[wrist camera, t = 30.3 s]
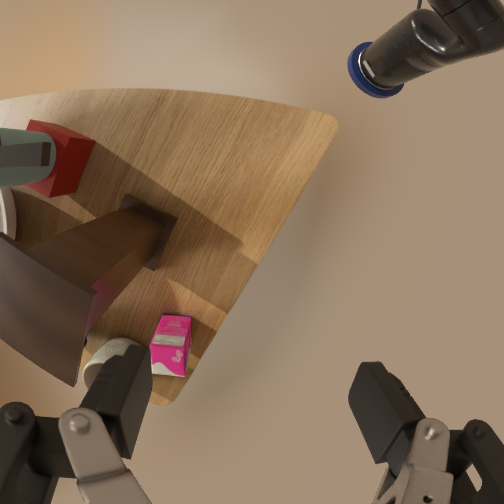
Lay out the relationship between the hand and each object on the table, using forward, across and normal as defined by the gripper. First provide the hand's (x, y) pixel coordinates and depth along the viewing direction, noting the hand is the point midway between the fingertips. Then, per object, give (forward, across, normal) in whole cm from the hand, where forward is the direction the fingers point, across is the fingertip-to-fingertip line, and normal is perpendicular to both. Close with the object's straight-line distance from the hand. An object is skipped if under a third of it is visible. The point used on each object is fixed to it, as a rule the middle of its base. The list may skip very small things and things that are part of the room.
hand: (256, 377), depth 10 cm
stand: (+40, +17, +5) cm, 44 cm away
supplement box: (+40, +9, +22) cm, 47 cm away
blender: (+40, +33, -8) cm, 53 cm away
